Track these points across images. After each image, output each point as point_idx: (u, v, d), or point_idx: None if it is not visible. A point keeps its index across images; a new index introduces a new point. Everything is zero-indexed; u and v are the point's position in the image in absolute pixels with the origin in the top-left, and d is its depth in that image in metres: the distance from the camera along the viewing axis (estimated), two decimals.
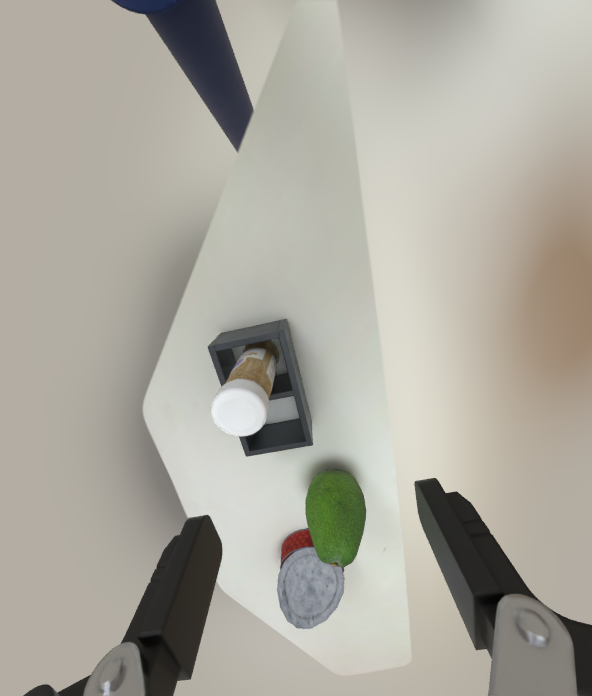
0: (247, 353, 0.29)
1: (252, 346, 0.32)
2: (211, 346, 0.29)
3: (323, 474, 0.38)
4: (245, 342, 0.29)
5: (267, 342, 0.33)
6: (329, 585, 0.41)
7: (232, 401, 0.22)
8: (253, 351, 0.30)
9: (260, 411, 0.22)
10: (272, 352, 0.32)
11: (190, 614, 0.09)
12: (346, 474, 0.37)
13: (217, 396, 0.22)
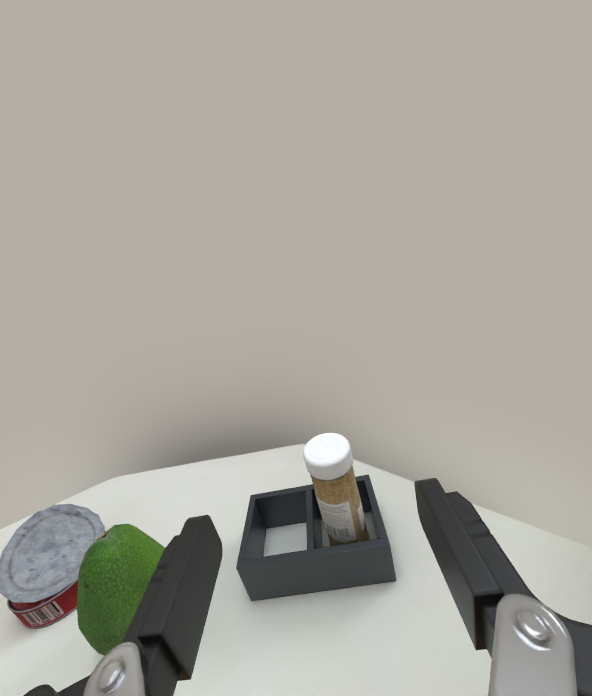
0: None
1: None
2: (368, 477, 0.32)
3: None
4: (373, 504, 0.29)
5: None
6: (28, 574, 0.31)
7: (338, 443, 0.27)
8: None
9: (326, 460, 0.25)
10: None
11: (190, 614, 0.09)
12: None
13: None
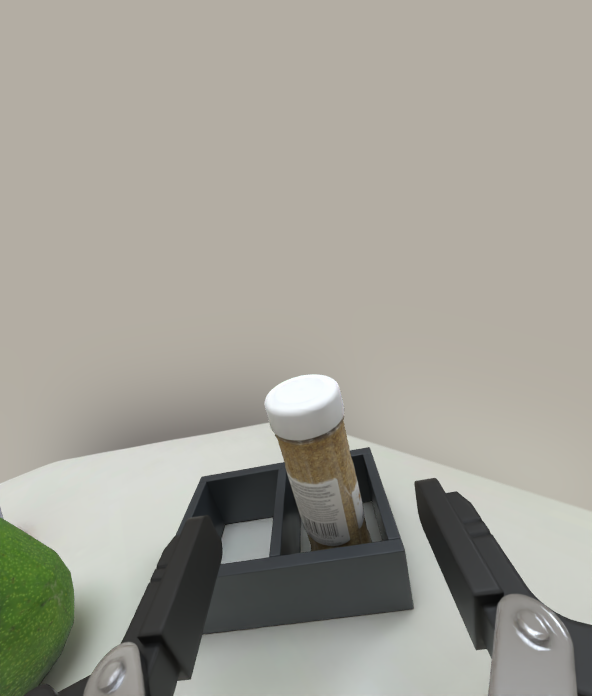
0: None
1: None
2: (369, 450, 0.22)
3: (66, 626, 0.18)
4: (376, 487, 0.19)
5: None
6: None
7: (320, 384, 0.16)
8: (360, 497, 0.19)
9: (298, 406, 0.15)
10: None
11: (190, 614, 0.09)
12: None
13: (329, 377, 0.17)
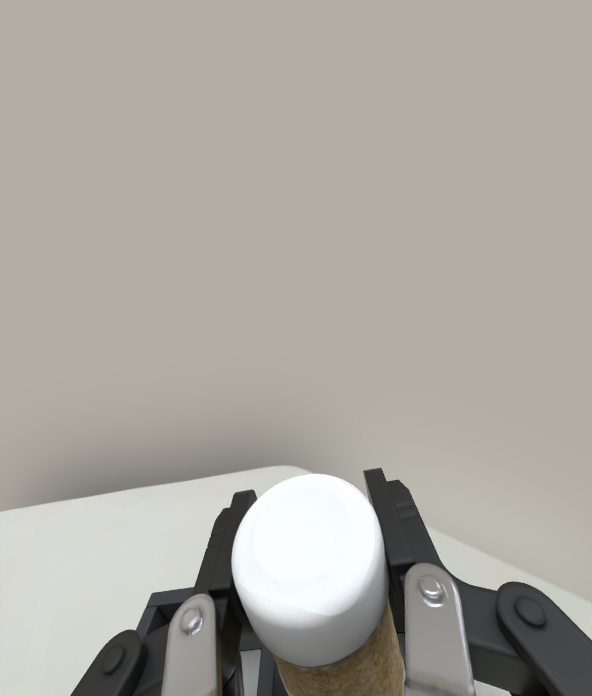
0: None
1: None
2: None
3: None
4: None
5: None
6: None
7: (342, 517, 0.08)
8: None
9: (298, 597, 0.07)
10: None
11: None
12: None
13: (356, 489, 0.09)
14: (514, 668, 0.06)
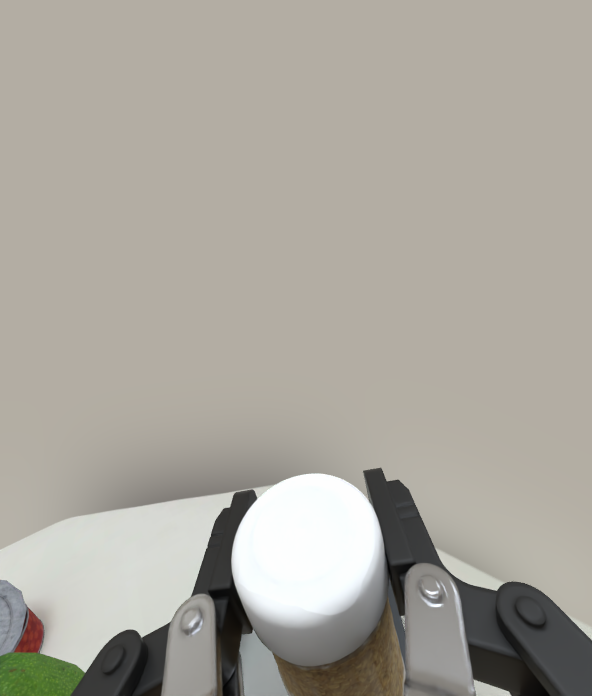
0: None
1: None
2: None
3: None
4: (392, 610, 0.20)
5: None
6: None
7: (342, 517, 0.08)
8: None
9: (298, 596, 0.07)
10: None
11: None
12: None
13: (356, 488, 0.09)
14: (514, 668, 0.06)
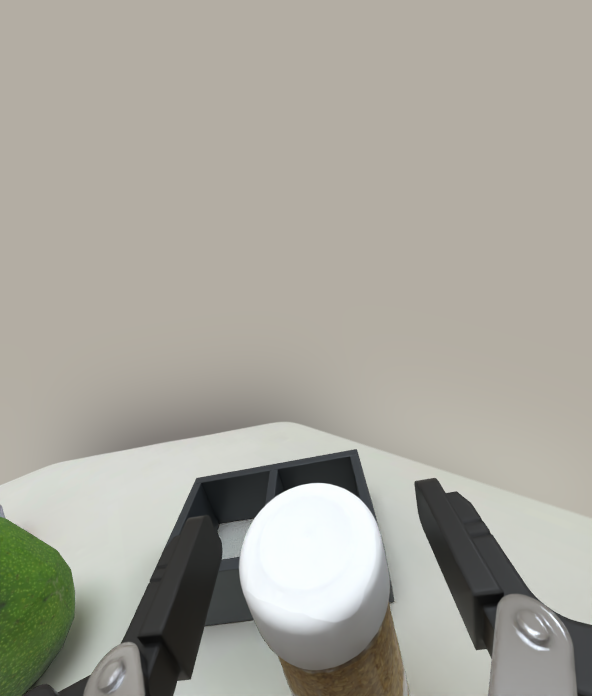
0: None
1: None
2: (356, 452, 0.23)
3: (67, 621, 0.19)
4: (361, 488, 0.20)
5: None
6: None
7: (345, 526, 0.09)
8: (408, 689, 0.11)
9: (303, 604, 0.07)
10: None
11: (190, 614, 0.09)
12: (15, 689, 0.16)
13: (357, 498, 0.10)
14: None
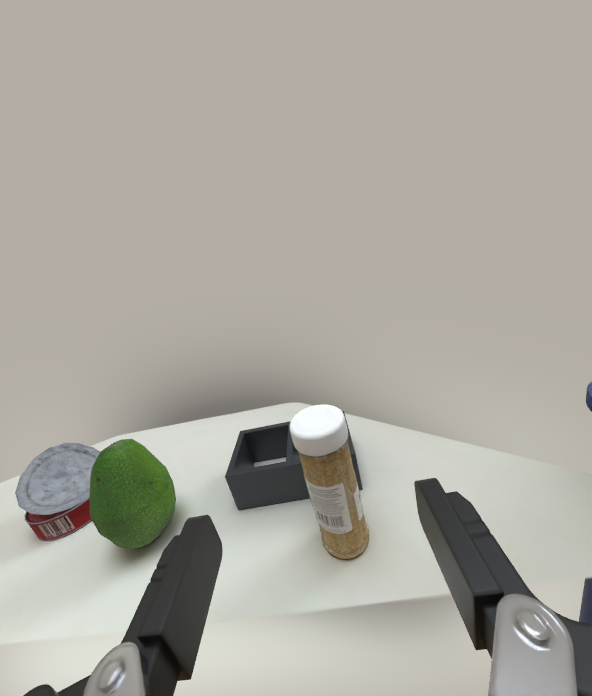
0: None
1: None
2: (343, 412, 0.37)
3: (174, 504, 0.32)
4: None
5: (364, 540, 0.25)
6: (43, 494, 0.35)
7: (331, 414, 0.22)
8: (360, 497, 0.25)
9: (315, 432, 0.21)
10: (353, 535, 0.24)
11: (190, 614, 0.09)
12: (157, 529, 0.29)
13: (336, 407, 0.23)
14: None
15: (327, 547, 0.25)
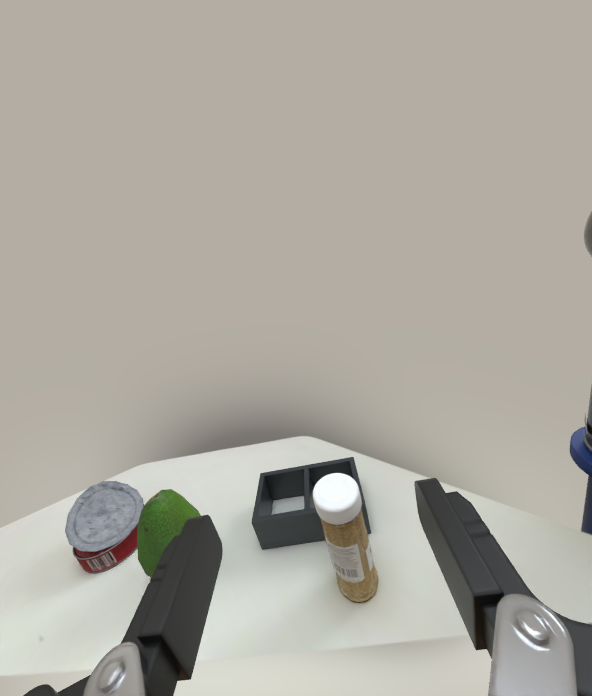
0: None
1: None
2: (353, 458, 0.42)
3: None
4: (355, 478, 0.38)
5: (374, 585, 0.30)
6: (89, 531, 0.40)
7: (347, 486, 0.27)
8: None
9: (336, 505, 0.25)
10: (365, 583, 0.29)
11: (190, 614, 0.09)
12: None
13: (351, 477, 0.28)
14: None
15: (342, 591, 0.30)
